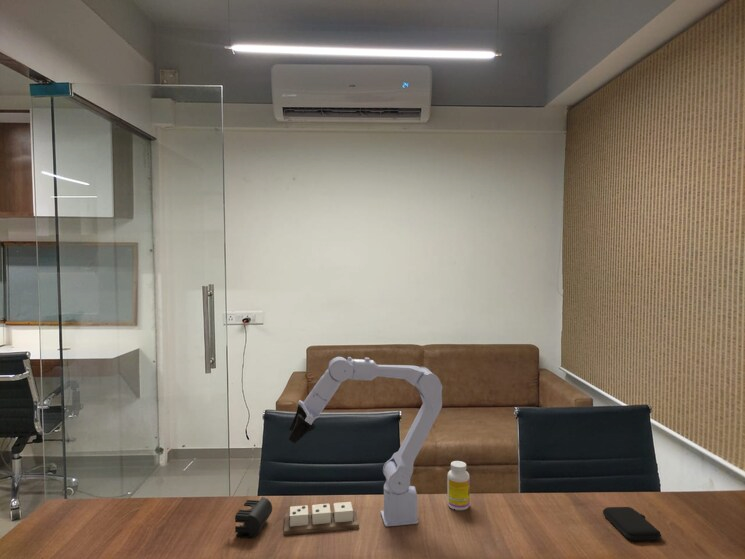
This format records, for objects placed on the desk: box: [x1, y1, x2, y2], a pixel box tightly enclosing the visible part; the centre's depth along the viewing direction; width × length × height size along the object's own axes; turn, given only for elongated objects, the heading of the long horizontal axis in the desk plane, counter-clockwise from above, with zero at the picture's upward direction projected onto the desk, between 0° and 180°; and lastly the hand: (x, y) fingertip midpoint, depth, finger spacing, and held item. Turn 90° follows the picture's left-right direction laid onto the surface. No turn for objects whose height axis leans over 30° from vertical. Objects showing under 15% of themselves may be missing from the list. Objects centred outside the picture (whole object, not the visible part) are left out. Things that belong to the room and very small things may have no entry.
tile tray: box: [283, 507, 360, 536], centre depth 133 cm, size 20×9×1 cm, turn 99°
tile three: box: [289, 505, 309, 527], centre depth 132 cm, size 5×5×3 cm
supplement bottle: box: [446, 460, 471, 511], centre depth 142 cm, size 7×7×13 cm
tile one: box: [333, 501, 353, 523], centre depth 134 cm, size 5×5×3 cm
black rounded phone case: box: [602, 506, 662, 543], centre depth 130 cm, size 11×3×15 cm
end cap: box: [234, 496, 273, 540], centre depth 130 cm, size 10×7×7 cm
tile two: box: [311, 503, 331, 525], centre depth 133 cm, size 5×5×3 cm
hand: (292, 435), depth 130 cm, fingers open, 7 cm apart
